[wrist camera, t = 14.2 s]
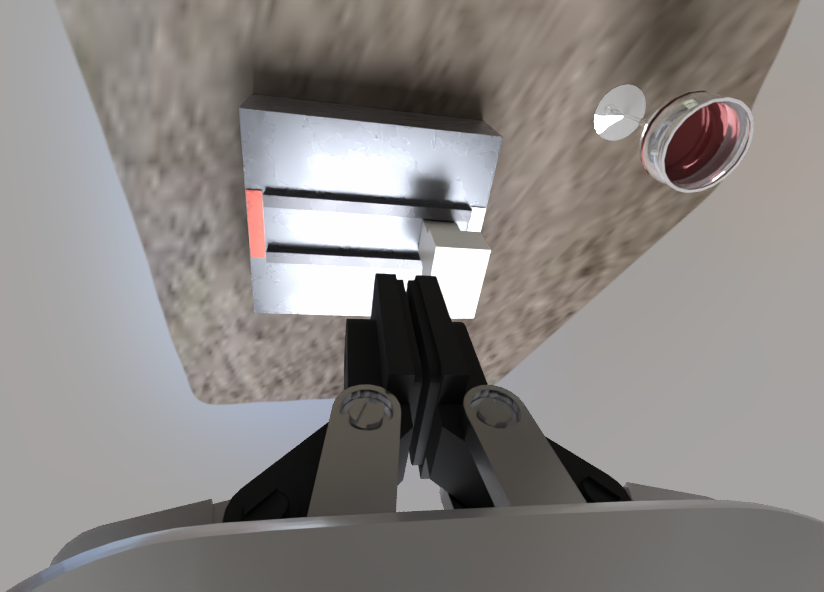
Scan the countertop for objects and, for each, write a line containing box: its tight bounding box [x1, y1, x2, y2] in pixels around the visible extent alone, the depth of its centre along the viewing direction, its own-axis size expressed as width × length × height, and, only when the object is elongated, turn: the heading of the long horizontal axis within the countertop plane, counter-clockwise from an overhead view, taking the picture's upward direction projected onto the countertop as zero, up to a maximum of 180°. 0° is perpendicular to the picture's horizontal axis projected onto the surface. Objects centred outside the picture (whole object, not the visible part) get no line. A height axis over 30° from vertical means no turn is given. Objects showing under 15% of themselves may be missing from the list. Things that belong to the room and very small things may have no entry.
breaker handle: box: [418, 220, 491, 318], centre depth 36 cm, size 6×4×8 cm, turn 173°
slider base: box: [239, 94, 503, 319], centre depth 40 cm, size 18×20×7 cm
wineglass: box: [594, 84, 754, 193], centre depth 36 cm, size 7×7×12 cm
